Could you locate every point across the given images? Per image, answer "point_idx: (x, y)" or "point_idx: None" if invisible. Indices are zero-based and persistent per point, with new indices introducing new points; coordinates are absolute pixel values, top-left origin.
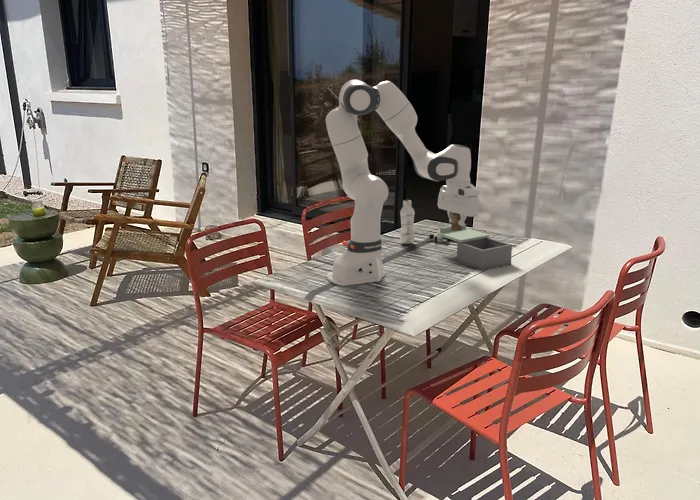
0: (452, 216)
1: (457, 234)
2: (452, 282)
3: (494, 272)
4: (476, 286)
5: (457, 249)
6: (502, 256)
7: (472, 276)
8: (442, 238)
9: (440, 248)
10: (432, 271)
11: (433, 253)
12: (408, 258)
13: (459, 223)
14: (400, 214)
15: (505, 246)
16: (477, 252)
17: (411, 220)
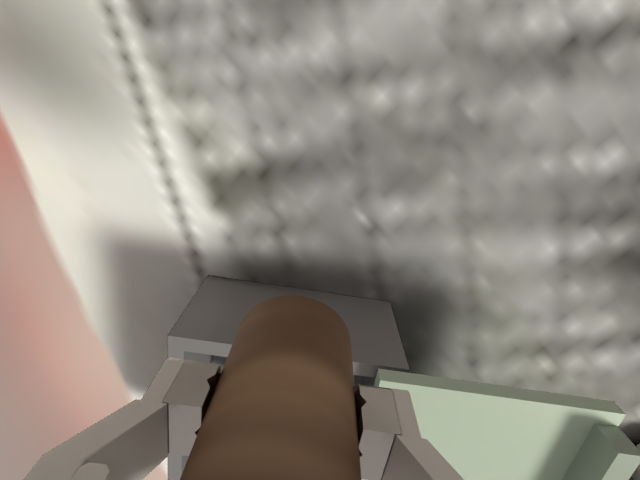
0: (290, 438)
1: (485, 455)
2: (150, 15)
3: (157, 295)
4: (30, 68)
5: (398, 339)
6: None
7: (169, 179)
8: (637, 470)
9: (580, 390)
10: (368, 81)
11: (563, 316)
12: (636, 160)
13: (183, 375)
14: None
15: (169, 465)
16: (221, 329)
17: None
